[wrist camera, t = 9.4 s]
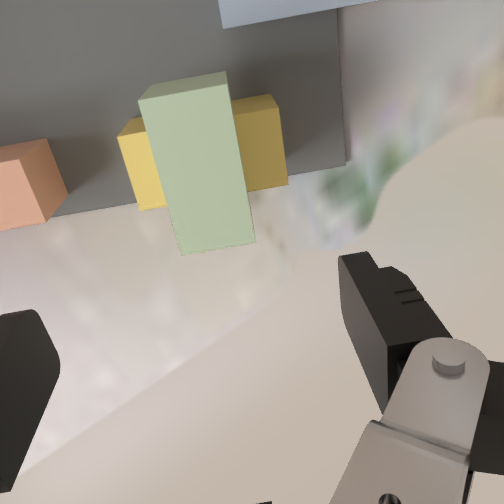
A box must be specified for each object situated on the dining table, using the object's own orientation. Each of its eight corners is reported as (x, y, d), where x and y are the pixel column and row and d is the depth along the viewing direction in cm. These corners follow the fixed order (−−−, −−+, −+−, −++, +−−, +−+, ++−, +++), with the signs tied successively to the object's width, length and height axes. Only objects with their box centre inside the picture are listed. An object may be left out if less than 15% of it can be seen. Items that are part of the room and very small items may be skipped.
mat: (0, 224, 28) (-3, 226, 28) (-115, -12, 22) (-121, -12, 21) (344, 163, 28) (345, 165, 27) (328, -96, 21) (330, -98, 21)
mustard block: (150, 184, 27) (140, 211, 24) (130, 118, 25) (116, 136, 22) (279, 161, 27) (288, 184, 23) (270, 93, 25) (278, 107, 21)
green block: (151, 84, 21) (137, 100, 17) (225, 70, 20) (226, 83, 17) (186, 219, 24) (181, 255, 20) (250, 208, 24) (255, 242, 20)
